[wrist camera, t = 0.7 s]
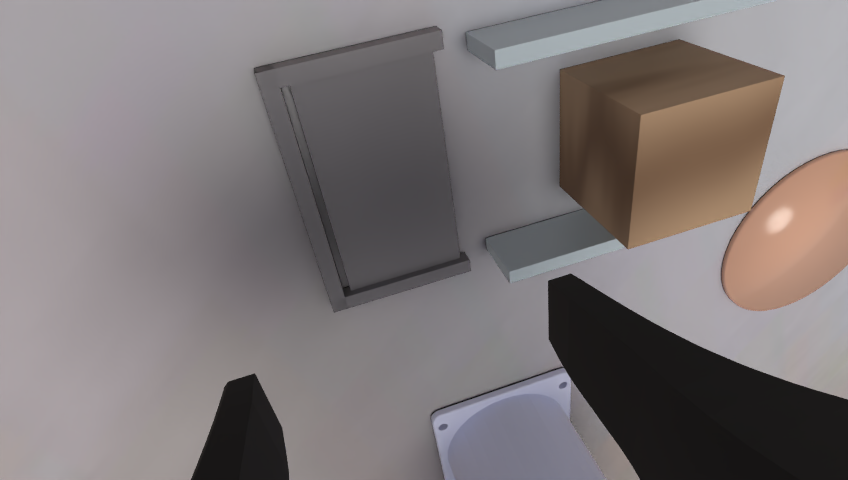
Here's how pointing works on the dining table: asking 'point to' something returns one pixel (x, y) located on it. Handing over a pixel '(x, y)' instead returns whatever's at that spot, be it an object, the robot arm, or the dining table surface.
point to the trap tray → (371, 163)
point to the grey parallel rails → (552, 35)
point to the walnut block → (664, 138)
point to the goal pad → (791, 237)
